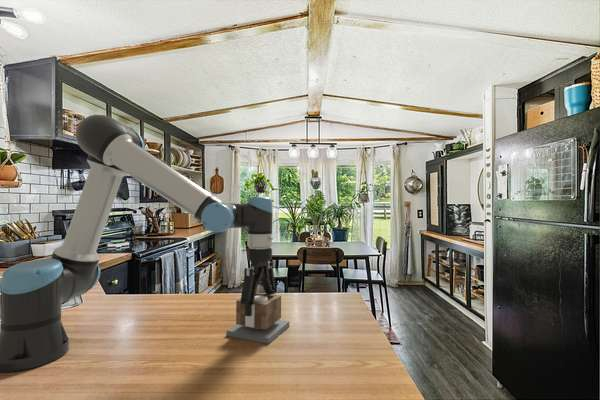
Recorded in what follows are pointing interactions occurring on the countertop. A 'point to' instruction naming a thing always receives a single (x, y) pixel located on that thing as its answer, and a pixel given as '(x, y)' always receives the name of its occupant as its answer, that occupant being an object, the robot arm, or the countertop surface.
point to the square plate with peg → (258, 329)
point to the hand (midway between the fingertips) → (259, 320)
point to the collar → (261, 311)
